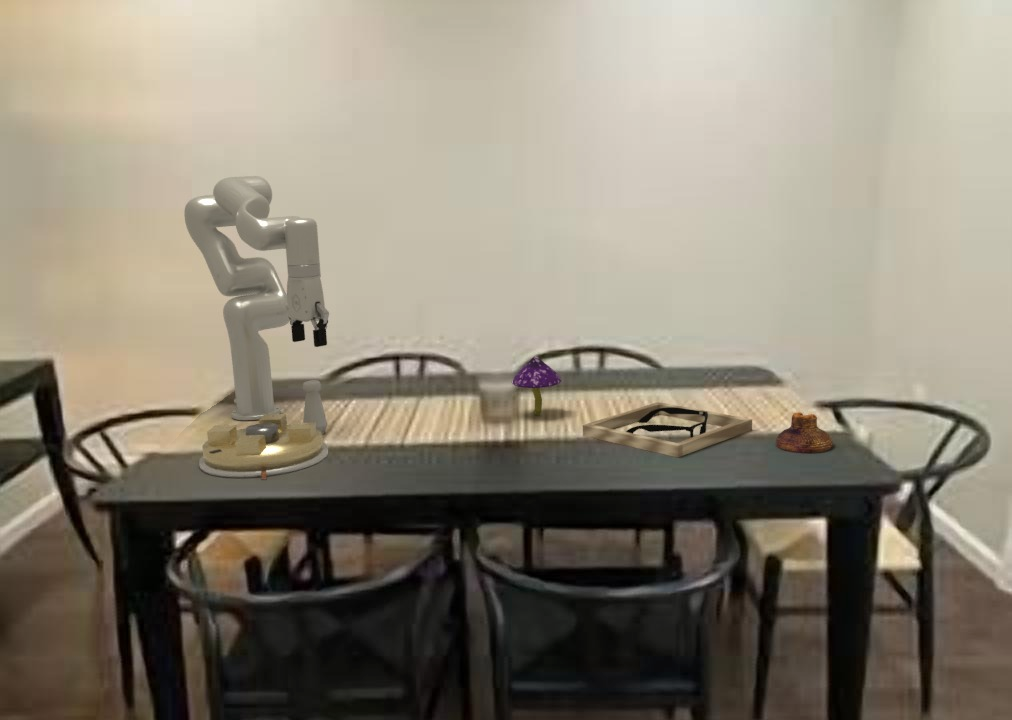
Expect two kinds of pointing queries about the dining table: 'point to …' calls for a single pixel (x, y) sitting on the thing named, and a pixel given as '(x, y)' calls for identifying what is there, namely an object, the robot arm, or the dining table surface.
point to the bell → (804, 436)
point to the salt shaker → (314, 405)
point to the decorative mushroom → (536, 379)
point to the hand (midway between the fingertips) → (309, 343)
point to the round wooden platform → (262, 445)
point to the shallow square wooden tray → (607, 433)
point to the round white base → (264, 473)
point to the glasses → (668, 427)
